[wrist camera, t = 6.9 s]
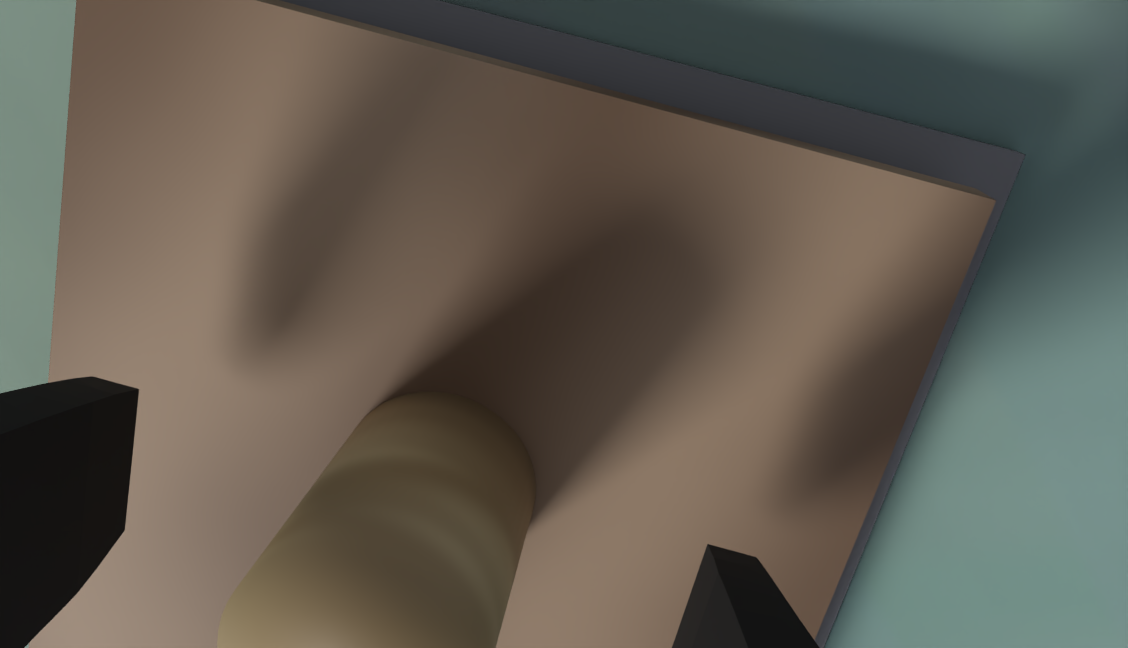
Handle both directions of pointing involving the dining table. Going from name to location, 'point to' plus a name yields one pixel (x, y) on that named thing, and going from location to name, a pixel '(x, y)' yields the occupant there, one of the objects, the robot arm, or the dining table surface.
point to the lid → (467, 338)
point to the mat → (418, 11)
